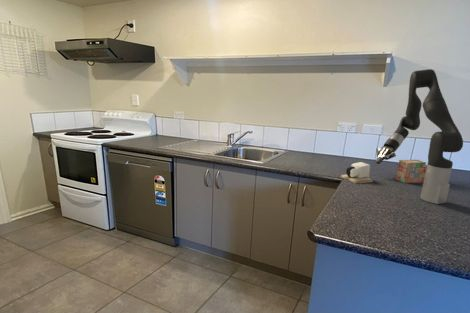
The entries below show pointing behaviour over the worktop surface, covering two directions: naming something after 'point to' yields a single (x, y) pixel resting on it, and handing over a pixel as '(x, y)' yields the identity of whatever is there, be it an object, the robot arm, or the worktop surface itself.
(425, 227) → the worktop surface
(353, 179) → the maple board
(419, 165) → the stack of blocks
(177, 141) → the worktop surface
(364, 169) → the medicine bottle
